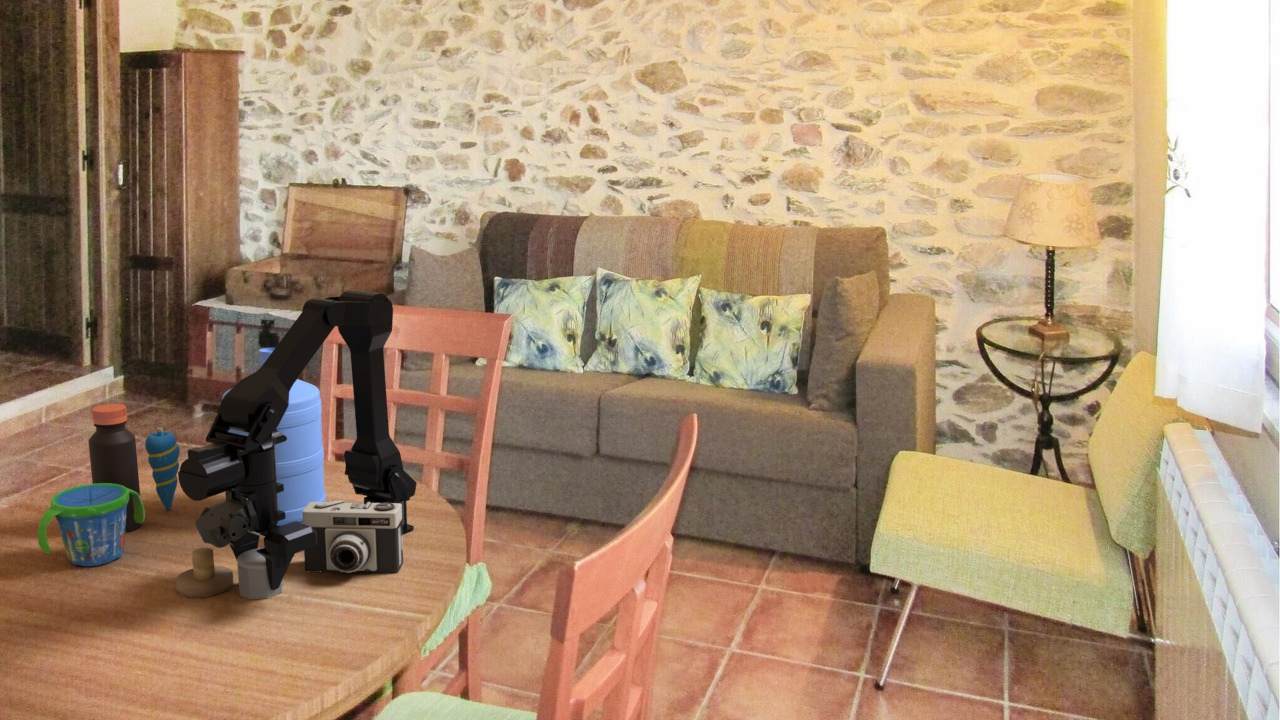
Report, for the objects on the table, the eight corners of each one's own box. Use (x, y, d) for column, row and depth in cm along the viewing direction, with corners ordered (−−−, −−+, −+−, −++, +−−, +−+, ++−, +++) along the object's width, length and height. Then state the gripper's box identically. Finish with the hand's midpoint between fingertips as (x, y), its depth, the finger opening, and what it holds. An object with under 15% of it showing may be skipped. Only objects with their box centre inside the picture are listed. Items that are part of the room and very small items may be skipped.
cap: (266, 578, 162) (264, 544, 161) (292, 588, 158) (291, 554, 157) (230, 592, 157) (228, 557, 156) (257, 603, 154) (254, 568, 152)
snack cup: (57, 584, 158) (50, 517, 156) (27, 564, 165) (19, 499, 163) (163, 552, 170) (158, 489, 168) (130, 534, 177) (125, 474, 174)
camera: (295, 583, 161) (292, 517, 158) (312, 560, 169) (309, 497, 166) (392, 584, 161) (390, 519, 158) (404, 562, 169) (402, 499, 166)
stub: (212, 570, 164) (210, 537, 163) (244, 584, 160) (242, 549, 158) (165, 588, 158) (162, 553, 157) (197, 602, 154) (194, 566, 152)
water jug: (345, 507, 190) (339, 347, 184) (271, 535, 177) (261, 365, 171) (284, 489, 198) (275, 335, 192) (209, 515, 185) (197, 351, 179)
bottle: (144, 517, 184) (134, 400, 179) (140, 532, 178) (130, 411, 173) (99, 521, 182) (88, 403, 177) (93, 536, 176) (82, 414, 171)
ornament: (171, 516, 184) (164, 430, 181) (144, 513, 185) (136, 427, 182) (190, 506, 189) (183, 421, 186) (162, 503, 190) (156, 419, 187)
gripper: (162, 480, 153) (171, 585, 156) (246, 510, 142) (253, 622, 146) (233, 460, 162) (239, 560, 165) (317, 487, 151) (322, 593, 155)
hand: (261, 583), depth 157 cm, fingers closed on cap, 6 cm apart
